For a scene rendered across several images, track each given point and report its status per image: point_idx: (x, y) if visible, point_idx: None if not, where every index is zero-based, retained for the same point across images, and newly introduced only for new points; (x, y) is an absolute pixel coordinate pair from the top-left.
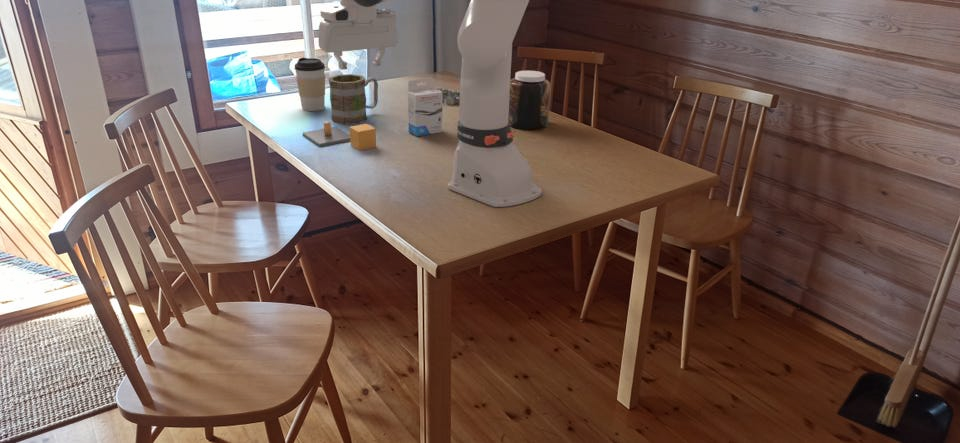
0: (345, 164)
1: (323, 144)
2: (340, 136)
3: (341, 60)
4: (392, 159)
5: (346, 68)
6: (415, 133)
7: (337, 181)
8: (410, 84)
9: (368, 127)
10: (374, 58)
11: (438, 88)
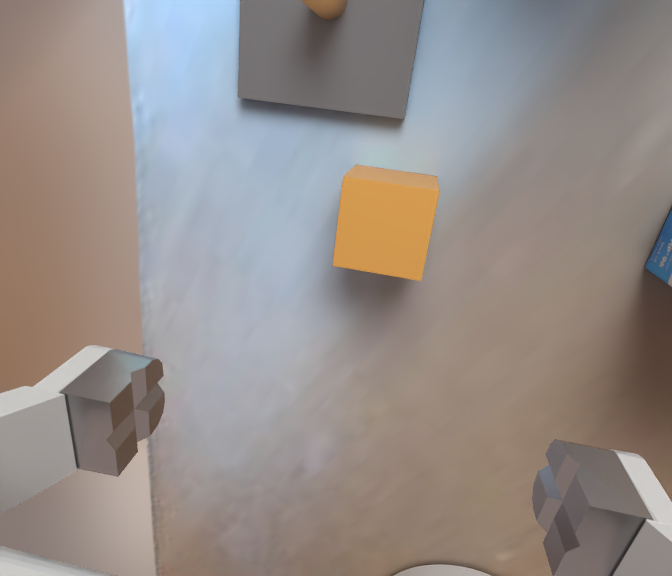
0: (237, 317)
1: (258, 99)
2: (363, 65)
3: (24, 487)
4: (380, 382)
5: (153, 419)
6: (651, 264)
7: None
8: None
9: (406, 247)
10: (583, 539)
11: None
